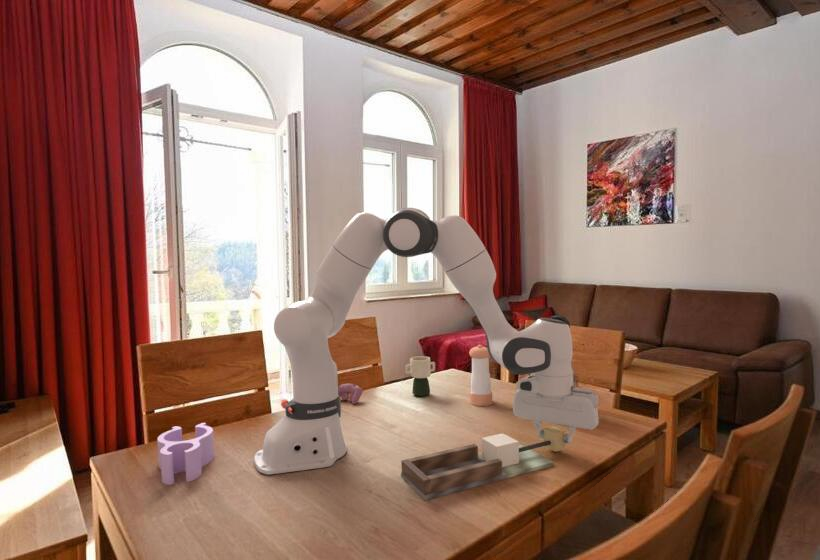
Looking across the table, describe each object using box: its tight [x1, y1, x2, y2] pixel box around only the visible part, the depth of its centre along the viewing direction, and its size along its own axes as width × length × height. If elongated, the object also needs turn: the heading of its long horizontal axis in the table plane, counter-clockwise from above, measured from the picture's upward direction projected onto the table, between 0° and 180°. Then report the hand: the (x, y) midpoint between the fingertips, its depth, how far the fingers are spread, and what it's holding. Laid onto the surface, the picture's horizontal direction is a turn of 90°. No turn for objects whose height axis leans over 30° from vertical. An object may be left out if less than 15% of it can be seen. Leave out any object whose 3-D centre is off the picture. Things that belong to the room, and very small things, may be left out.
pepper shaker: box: [468, 344, 493, 407], centre depth 160 cm, size 7×7×19 cm
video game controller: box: [338, 382, 364, 405], centre depth 167 cm, size 10×5×7 cm, turn 59°
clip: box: [157, 422, 215, 485], centre depth 118 cm, size 20×12×7 cm, turn 18°
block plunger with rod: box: [481, 425, 566, 467], centre depth 116 cm, size 20×6×5 cm, turn 115°
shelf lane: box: [400, 443, 555, 501], centre depth 110 cm, size 33×12×4 cm, turn 115°
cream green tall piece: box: [405, 355, 436, 397], centre depth 171 cm, size 11×7×13 cm, turn 107°
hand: (554, 440), depth 120 cm, fingers closed on block plunger with rod, 5 cm apart
